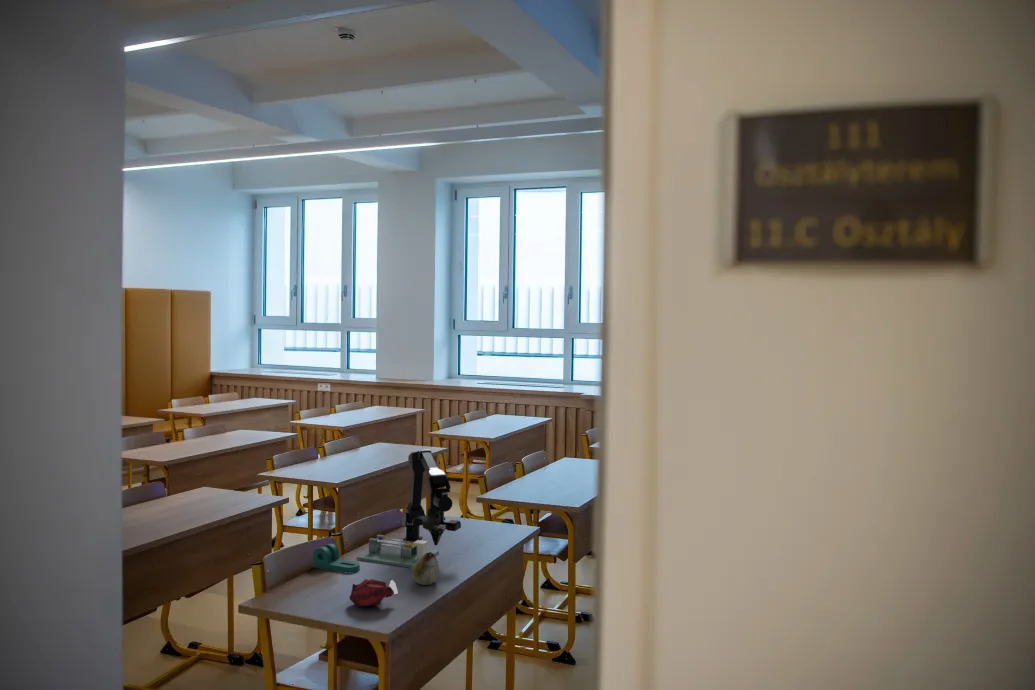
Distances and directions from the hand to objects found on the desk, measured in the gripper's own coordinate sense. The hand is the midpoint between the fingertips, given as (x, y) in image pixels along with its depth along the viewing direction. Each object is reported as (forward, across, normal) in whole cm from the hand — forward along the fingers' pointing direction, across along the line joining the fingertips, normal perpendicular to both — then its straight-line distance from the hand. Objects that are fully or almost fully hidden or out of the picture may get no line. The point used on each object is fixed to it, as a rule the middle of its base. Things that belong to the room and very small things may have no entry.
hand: (436, 545), depth 287 cm
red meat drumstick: (+7, +1, -49) cm, 49 cm away
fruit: (+7, +7, -23) cm, 25 cm away
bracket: (+7, -31, -21) cm, 38 cm away
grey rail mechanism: (+6, -19, 0) cm, 20 cm away
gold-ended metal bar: (+3, -18, 0) cm, 19 cm away
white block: (+5, -7, 0) cm, 9 cm away
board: (+7, -17, 0) cm, 18 cm away
